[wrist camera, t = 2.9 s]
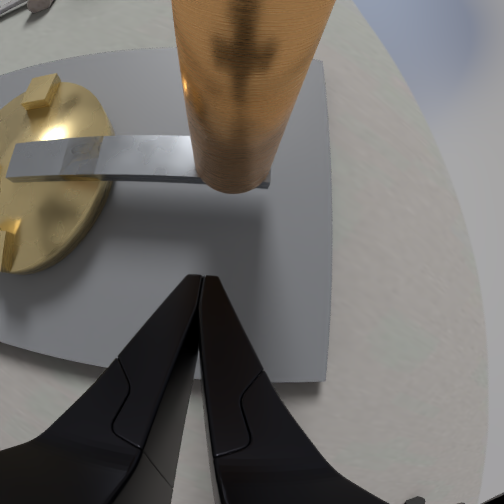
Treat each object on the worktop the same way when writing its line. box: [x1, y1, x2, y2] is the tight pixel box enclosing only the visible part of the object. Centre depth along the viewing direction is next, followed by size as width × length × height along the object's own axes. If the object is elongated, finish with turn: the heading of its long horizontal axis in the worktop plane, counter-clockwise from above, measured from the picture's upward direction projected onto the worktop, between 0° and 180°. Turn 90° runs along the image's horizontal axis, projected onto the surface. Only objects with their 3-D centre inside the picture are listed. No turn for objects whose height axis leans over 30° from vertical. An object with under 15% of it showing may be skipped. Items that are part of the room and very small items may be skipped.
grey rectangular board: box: [0, 47, 332, 382], centre depth 18 cm, size 34×24×2 cm
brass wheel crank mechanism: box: [0, 0, 336, 275], centre depth 10 cm, size 24×14×15 cm, turn 87°
